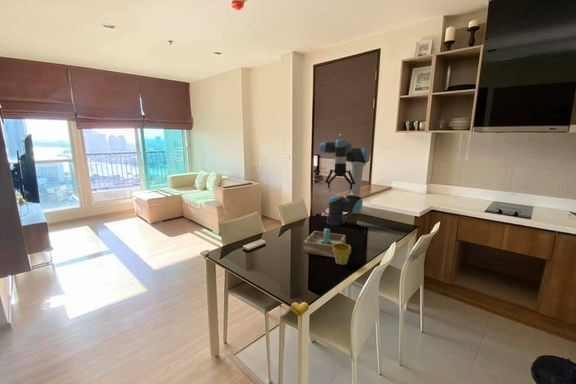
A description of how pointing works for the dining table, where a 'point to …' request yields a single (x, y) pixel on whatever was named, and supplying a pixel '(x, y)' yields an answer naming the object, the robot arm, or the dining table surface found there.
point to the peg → (326, 236)
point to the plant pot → (341, 253)
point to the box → (316, 243)
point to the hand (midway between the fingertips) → (339, 193)
